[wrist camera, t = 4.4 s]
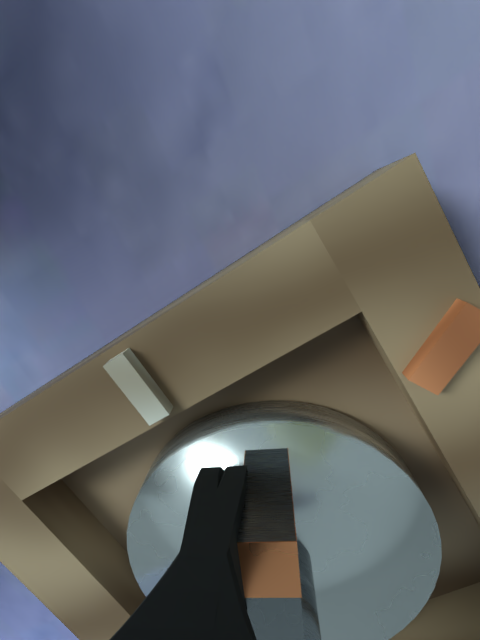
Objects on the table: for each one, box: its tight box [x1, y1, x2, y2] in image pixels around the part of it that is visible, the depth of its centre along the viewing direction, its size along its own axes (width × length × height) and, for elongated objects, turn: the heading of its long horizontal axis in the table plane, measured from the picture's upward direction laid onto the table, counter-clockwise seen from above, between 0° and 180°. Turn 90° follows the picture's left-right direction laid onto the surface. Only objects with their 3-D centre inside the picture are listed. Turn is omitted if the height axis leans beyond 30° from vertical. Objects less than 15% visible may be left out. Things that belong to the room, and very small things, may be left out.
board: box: [0, 153, 480, 640], centre depth 14 cm, size 20×20×4 cm
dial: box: [127, 401, 442, 640], centre depth 12 cm, size 12×12×5 cm
